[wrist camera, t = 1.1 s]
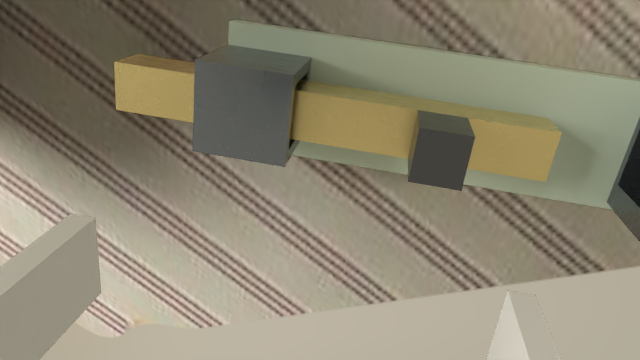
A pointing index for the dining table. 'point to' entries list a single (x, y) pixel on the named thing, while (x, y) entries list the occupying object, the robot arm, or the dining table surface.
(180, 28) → the dining table surface
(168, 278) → the dining table surface
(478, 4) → the dining table surface
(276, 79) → the guide sleeve
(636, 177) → the socket block
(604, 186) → the base plank
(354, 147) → the sliding bolt
